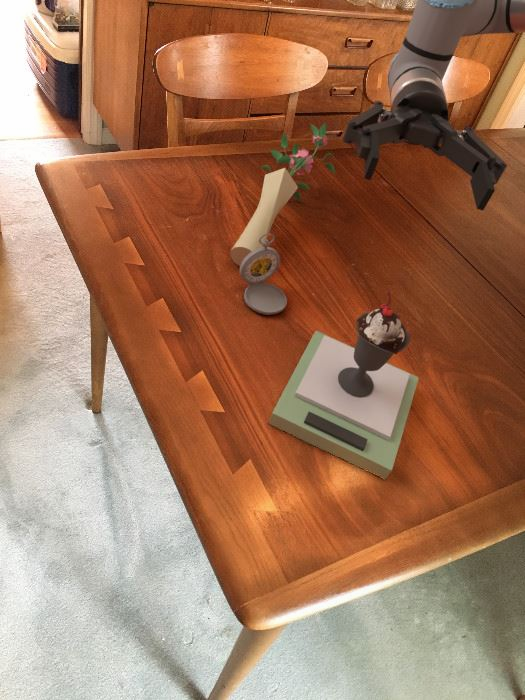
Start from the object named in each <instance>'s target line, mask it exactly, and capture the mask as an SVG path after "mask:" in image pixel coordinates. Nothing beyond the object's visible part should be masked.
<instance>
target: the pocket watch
mask: <svg viewBox="0 0 525 700" xmlns="http://www.w3.org/2000/svg"><path fill="white" fill-rule="evenodd" d="M266 235H268V236H270V237H272V239H271V241H269V240H268V239H267V240H266V241H265V242H263V243H262V242H261V239H262V237H264V236H266ZM274 241H275V235H273V233H269V234H264V235H263V236H261V237H260V239H259V242H260V244H262V245H263V246H264V247H261V248H258V249H256V250H254V251H252V252H251V253H249V254H248V255H247V256H246V257H245V258H244V259H243V261H242V263H241V265H240V266H239V276H240V278H241V279H242V280H243V281H244V282H245V283H247V284H249V285H248V286H247V287H246V288H245V289H244V294H243V299H244V302H245V304H246V305H247V306H248V307H249V308H250V309H251V310H252V311H254V312H256V313H258V314H262V315H266V316H267V315H268V316H270V315H277V314H279V313H281V312H283V311H284V309H285V308H286V306H287V304H288V299H287V296H286V294H285V292H284V291H283V290H282V289H280V287H278V286H276V285H274V284H272V283H269V282H265V281H266V280H268V279H269V278H271V277H272V276H273V275H274V274H275V273H276V272H277V270H278V269H279V267H280V264H281V256H280V254H279V251H277V250H276V249H275V248H273V247H271V246H270V245H271V244H272V243H273V242H274ZM269 246H270V247H269Z"/></svg>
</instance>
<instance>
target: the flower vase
mask: <svg viewBox="0 0 525 700" xmlns="http://www.w3.org/2000/svg"><path fill="white" fill-rule="evenodd" d="M310 127H311V131H312V134H313V135H311V138H312V139H311V141H312V144H314V146H315V150H314V152H313V154H309V153H310V150H307V149H305V148H303V147H302V148H301V149H300V148H299V144H298V143H297V142H295V143H294V144H293V146H292V150H291V154H287V152H286V150H284V152H285V153H284V154H285V155H284V156H283V153H282V152H279V151H278V150H275V149H269V151H270V153H271V155H272V156H273V158H274V159H276V162H275V163H278V164H280V165H281V164H288V165H289V166H288V168H289V169H288V170H287V168H286V167H283V168H280V169H278V170H274V171H272V169H271V167H270V165H268V164H263V165H262V166H260V168H261V169H262V170H264V171H267V172H269V173H267V174H265V175H264V179H263V184H262V190H261V195H260V199H259V202H258V205H257V208H256V209H255V211H254V213H253V215H252V217H250V220H249V221H248V223H247V225H246V227H245V228H244V230H243V232H242V233H241V235H240V236H239V238H238V239H237V240H236V242H235V244H234V245H233V246H232V248H231V249H230V252H229V253H230V254H229V257H230V258H231V260H232V262H233V263H234V264H236V265H237V266H239V267H240V265H241V263H242V261H243V259H244V258H245V257H246V256H247V255H248V254H249V253H251V252H252V251H254V250H256V249H258V248H261V247H264V246H263V245H262V244H260V242H259V239H260V237H261V236H263V235H264V234H270V233H271V229H272V227H273V224H274V222H275V220H276V217H277V216H278V214H279V213H280V212H281V211H282V209H283V208H284V207H285V206H286V204H287V203H288V202H289V200H290V199H291V198H292V196H293V197H294V198H295V199H296V200H298V201H299V202H301V199H302V196H301V194H300V192H299V191H297V190H298V189H302V190H305V191H311V188H310V187H309V186H308V184H306V183H304V182H301V181H300V182H298V184H297V183H296V181H295V180H294V178H293V177H292V176H293V175H294V174H296V175H297V176H299V175H303V176H305V171H306V172H307V173H308V174H311V171H312V168H313V163H314V158H315V159H316V160H317V161H318V162H320V163H322V164H324V165H325V167H326V168H327V169H328V170H329V171H330V172H332V173H333V174H337V173H336V169H335V167H334V165H333V164H332V162H330V161H329V162H327V163H326V162H323V160H324V159H325V158H328V157H334V156H335V155H334V154H333V153H327V154H325V155H324V157H323V159H318V158H317V157H314V156H315V154H317V151H318V148H324V147H327V144H328V143H329V142H328V140H329V139H328V136H327V135H326V133H327V129H328V128H327V123H326V122H325V123H324V124H322V125H321V126H320V128H319V129H318V127H317V126H315V125H313V124H312V123H311V124H310ZM280 147H282V148H284V149H286V148H287V147H289V140H288V136H287V135H286V134H285V132H283V134H282V135H281V137H280ZM290 169H291V170H290ZM268 237H269V235H266V236H264V237H262V239H261V242H262V243H263V242H265V241H266V240H268Z"/></svg>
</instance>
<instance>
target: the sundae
mask: <svg viewBox="0 0 525 700" xmlns="http://www.w3.org/2000/svg"><path fill="white" fill-rule="evenodd" d="M385 292H386V294H387V296H388V302H387V303H382V304H381V305H380V306H379V308H377V309H373V310H371V311H370V312H365V313H362V314H360V315H359V317H358V318H357V319H356V332H357V339H356V343H355V346H354V348H355V350H354V360H355V362H356V363H357V365H358V366H359V368H353V367H349V368H345V369H343V370H342V371H340V373H339V375H338V382H339V384H340V386H341V387H342V388H343V389H344V390H345V391H346V392H347V393H349V394H351V395H353V396H357V397H365V396H368V395H369V394H371V393H372V391H373V388H374V385H373V381H372V379H371V377H370V376H369V375H368V374H367V373H366V371H377V370H379V369H380V368H381V367H382V366H383V365H384V364H386V363H388V361H389V360H391V358H392V357H393V356H394V355H398V354H399V353H401V352H402V351H403V350H405V349H406V348H407V347H408V346H409V344H410V341H411V337H410V333H409V332H408V330H407V328H406V327H405V326H404V324H403V323H402V322H401V319H400V317H399V316H398V315H397V314H396V313H395V312H393V310H392V309H391V304H392V297H391V291H390V290H389V288H386V289H385Z"/></svg>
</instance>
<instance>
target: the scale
mask: <svg viewBox="0 0 525 700" xmlns="http://www.w3.org/2000/svg"><path fill="white" fill-rule="evenodd" d="M354 350H355V347H353V346H351V345H349V344H346V343H345V342H342V341H340V340H338V339H336V338H334V337H331V336H329V335H327V334H325V333H323V332H321V331H318V330H315V331H314V333H313V334H312V336H311V339H310V340H309V342H308V344H307V346H306V348H305V349H304V352H303V354H302V355H301V357H300V358H299V361H298V363H297V365H296V367H295V369H294V370H293V373H292V375H291V376H290V378H289V380H288V382H287V383H286V386H285V388H284V389H283V391H282V393H281V395H280V396H279V399H278V401H277V403H276V405H275V406H274V408H273V410H272V413H271V415H270V417H269V420H268V423H267V424H268V425H271V426H272V427H275V428H276V429H278V430H280V431H282V432H284V431H285V433H286V432H287V433H286V434H289V435H291V434H292V435H291V436H293V437H295V436H296V437H295V438H297V439H299V440H301V439H302V440H301V441H303V442H305V443H307V444H309V445H311V446H313V447H315V446H316V448H317V447H318V448H317V449H319V450H322V451H324V450H325V451H324V452H326V451H327V452H326V453H328V452H329V453H328V454H330V453H331V454H330V455H332V454H333V455H332V456H334V455H335V456H334V457H336V456H337V457H336V458H338V457H340V458H342V459H344V460H346V461H348V462H349V463H348V462H347V463H348V464H351V463H352V464H351V465H353V464H354V465H353V466H355V467H357V466H358V467H357V468H359V467H360V468H359V469H361V468H363V469H365V470H368V471H370V472H372V473H375V474H377V475H379V476H380V477H383V478H384V479H385V480H387V478H388V477H389V475H390V474H391V473H392V471H393V468H394V465H395V462H396V458H397V455H398V452H399V448H400V445H401V442H402V437H403V435H404V431H405V427H406V424H407V422H408V421H407V420H408V417H409V414H410V410H411V407H412V403H413V400H414V396H415V393H416V390H417V386H418V382H419V378H420V377H419V376H417V375H414V374H412V373H411V372H408V371H406V370H404V369H401V368H399V367H397V366H395V365H394V364H391V363H388V362H387V363H386V364H384V365H383V366H382V367H381V368H380V369H379V370H377V371H366V373H367V374H368V375H369V376H370V377H371V379H372V381H373V385H374V388H373V391H372V393H371V394H369V395H368V396H365V397H357V396H353V395H351V394H349V393H347V392H346V391H345V390H344V389H343V388H342V387H341V386H340V384H339V382H338V375H339V373H340V371H342V370H343V369H345V368H349V367H353V368H359V366H358V365H357V363H356V362H355V360H354ZM340 458H339V459H340ZM342 459H341V460H342ZM344 460H343V461H344ZM346 461H345V462H346ZM363 469H362V470H363ZM365 470H364V471H365ZM384 479H383V480H384Z"/></svg>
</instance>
